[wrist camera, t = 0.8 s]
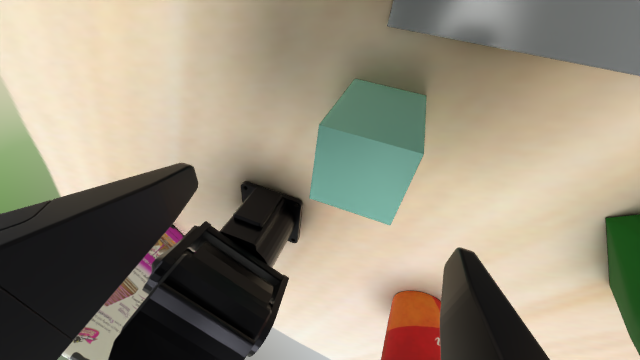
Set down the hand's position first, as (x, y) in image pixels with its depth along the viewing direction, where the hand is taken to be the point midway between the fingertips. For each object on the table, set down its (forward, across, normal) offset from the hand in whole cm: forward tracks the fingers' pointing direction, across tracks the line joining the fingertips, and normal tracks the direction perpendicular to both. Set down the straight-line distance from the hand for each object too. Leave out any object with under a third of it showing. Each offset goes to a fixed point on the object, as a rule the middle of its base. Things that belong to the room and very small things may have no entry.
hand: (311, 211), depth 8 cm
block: (+11, -1, +1) cm, 11 cm away
